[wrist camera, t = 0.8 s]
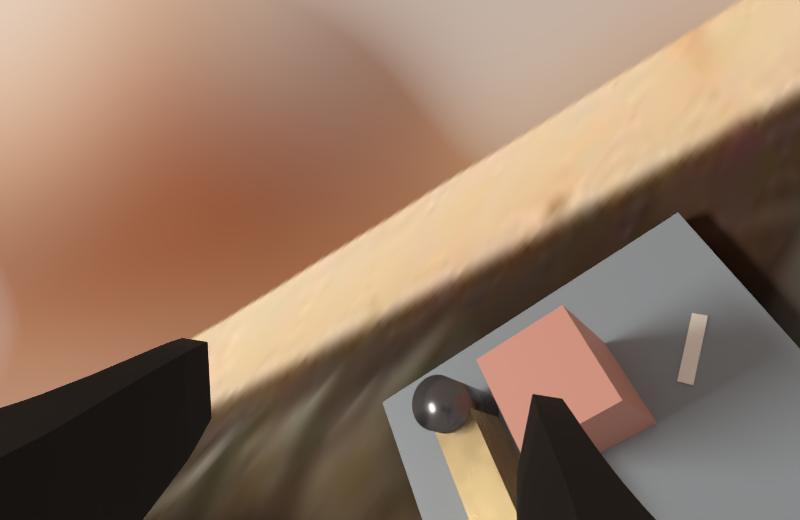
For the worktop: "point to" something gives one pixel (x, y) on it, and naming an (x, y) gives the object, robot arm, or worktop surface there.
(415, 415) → the crank
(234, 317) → the worktop surface
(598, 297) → the board
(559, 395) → the block
